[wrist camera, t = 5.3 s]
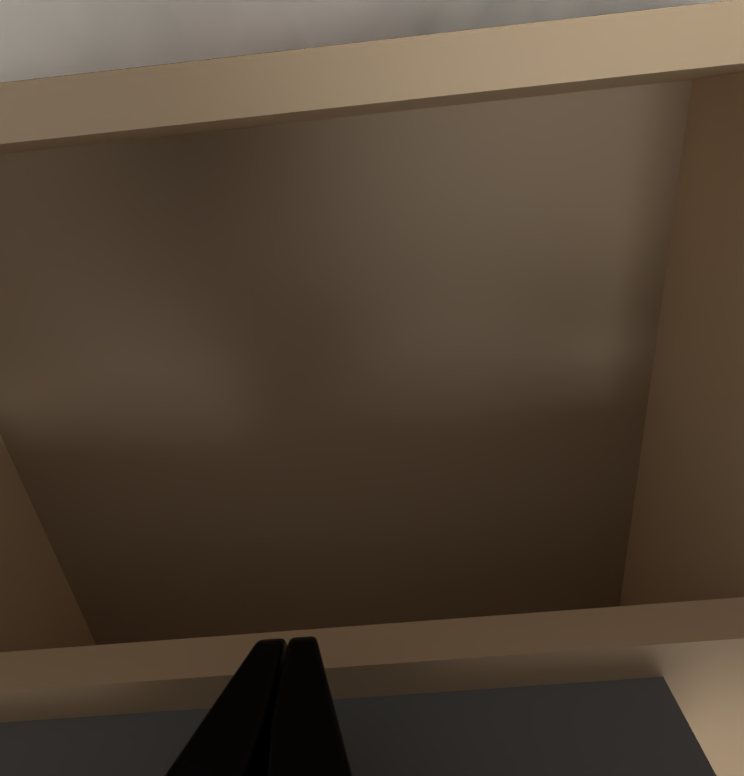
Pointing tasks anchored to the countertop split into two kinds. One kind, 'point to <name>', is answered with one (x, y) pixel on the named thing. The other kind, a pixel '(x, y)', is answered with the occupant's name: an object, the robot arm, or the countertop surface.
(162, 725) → the carton lid
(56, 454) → the carton
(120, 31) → the countertop surface
